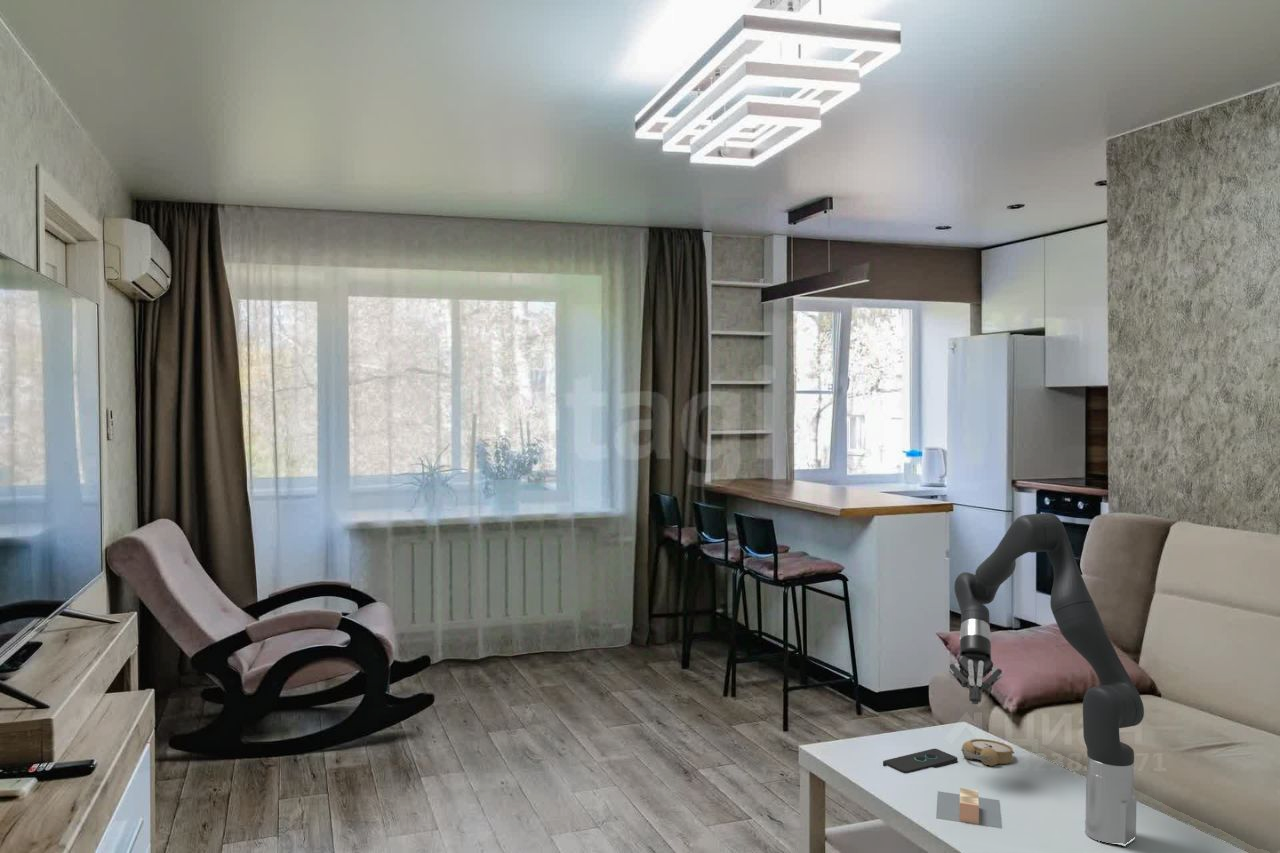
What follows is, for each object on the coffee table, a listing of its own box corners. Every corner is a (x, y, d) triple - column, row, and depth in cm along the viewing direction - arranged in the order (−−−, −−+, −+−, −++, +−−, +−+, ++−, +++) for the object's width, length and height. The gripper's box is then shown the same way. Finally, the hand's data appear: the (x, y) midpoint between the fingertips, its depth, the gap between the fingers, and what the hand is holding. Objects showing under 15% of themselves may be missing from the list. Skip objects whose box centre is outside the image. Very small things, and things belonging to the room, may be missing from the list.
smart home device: (959, 757, 244) (905, 771, 234) (959, 764, 244) (905, 778, 234) (934, 747, 251) (881, 760, 241) (934, 753, 251) (881, 766, 241)
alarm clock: (1021, 748, 247) (991, 750, 238) (1019, 767, 247) (989, 769, 238) (983, 736, 256) (953, 738, 247) (981, 754, 256) (951, 756, 246)
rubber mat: (999, 802, 219) (999, 800, 219) (1002, 830, 204) (1002, 828, 204) (937, 793, 223) (937, 791, 223) (936, 820, 208) (936, 818, 208)
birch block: (978, 790, 214) (979, 805, 206) (977, 807, 214) (978, 823, 206) (959, 787, 216) (959, 802, 207) (959, 805, 216) (959, 820, 207)
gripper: (948, 630, 236) (947, 691, 225) (1003, 636, 232) (1005, 698, 221) (947, 646, 241) (946, 706, 230) (1001, 651, 237) (1003, 713, 226)
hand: (975, 702), depth 225 cm, fingers closed
